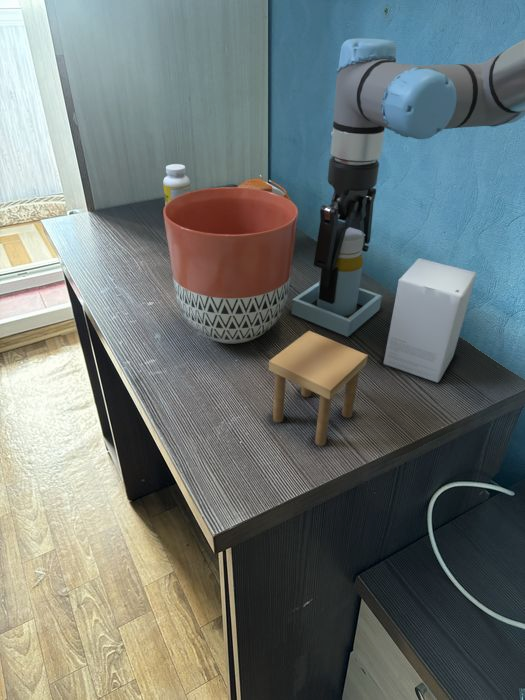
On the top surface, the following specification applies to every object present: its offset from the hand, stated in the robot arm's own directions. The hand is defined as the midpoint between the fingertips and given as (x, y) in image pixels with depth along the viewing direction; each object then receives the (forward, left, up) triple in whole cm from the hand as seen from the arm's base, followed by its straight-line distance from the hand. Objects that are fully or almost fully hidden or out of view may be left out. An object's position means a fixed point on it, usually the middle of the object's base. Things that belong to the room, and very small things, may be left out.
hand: (338, 291), depth 91 cm
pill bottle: (+56, -16, -4) cm, 58 cm away
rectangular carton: (-18, +4, -4) cm, 19 cm away
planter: (+10, +17, -4) cm, 20 cm away
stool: (-12, +26, -4) cm, 29 cm away
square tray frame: (0, 0, -4) cm, 4 cm away
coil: (+28, -12, -4) cm, 31 cm away
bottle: (0, 0, -4) cm, 4 cm away
